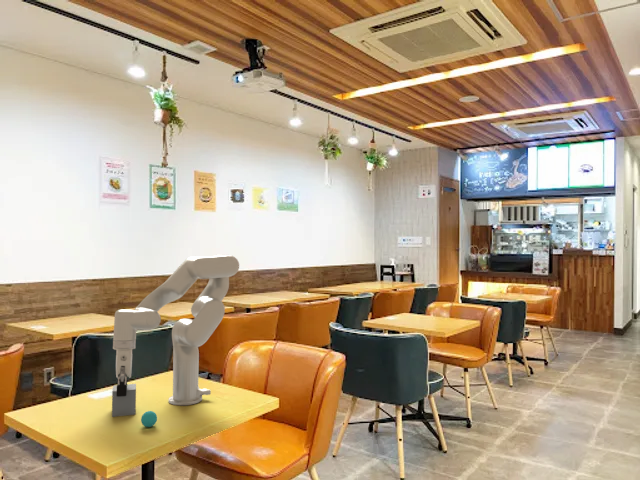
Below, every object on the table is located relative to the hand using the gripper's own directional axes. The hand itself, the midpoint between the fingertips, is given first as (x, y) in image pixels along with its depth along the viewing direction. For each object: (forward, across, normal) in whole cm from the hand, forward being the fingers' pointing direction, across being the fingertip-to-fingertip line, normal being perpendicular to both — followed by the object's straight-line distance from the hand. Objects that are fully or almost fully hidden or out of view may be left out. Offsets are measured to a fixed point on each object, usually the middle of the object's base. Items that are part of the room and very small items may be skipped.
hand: (121, 392), depth 176 cm
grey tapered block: (+7, 0, -1) cm, 7 cm away
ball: (+4, -18, -9) cm, 20 cm away
